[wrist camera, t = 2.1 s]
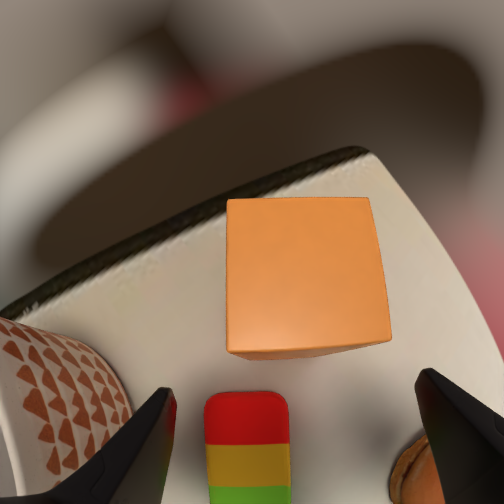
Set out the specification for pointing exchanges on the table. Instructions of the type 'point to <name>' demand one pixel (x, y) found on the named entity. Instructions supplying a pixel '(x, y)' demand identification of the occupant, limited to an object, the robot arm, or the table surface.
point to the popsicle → (247, 448)
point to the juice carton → (303, 278)
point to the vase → (52, 407)
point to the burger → (416, 477)
